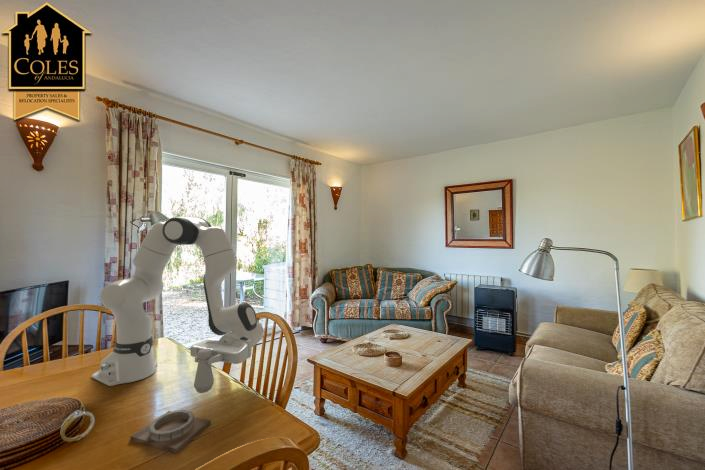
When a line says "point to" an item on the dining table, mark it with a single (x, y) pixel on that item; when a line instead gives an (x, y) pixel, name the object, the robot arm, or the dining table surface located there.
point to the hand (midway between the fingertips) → (201, 361)
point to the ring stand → (171, 431)
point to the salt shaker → (203, 372)
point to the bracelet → (72, 416)
